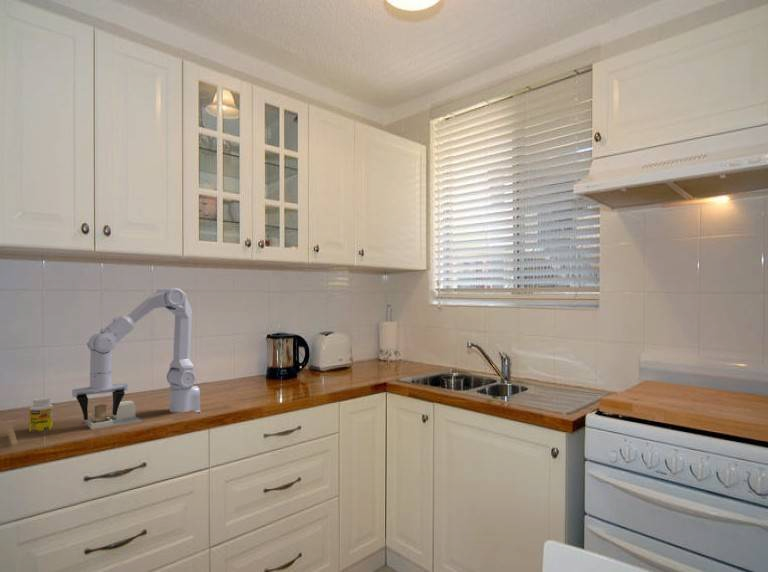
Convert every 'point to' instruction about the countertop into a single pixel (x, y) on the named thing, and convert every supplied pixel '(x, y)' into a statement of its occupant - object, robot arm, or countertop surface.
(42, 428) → the supplement bottle
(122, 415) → the cover
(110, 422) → the board
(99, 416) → the loose pin
